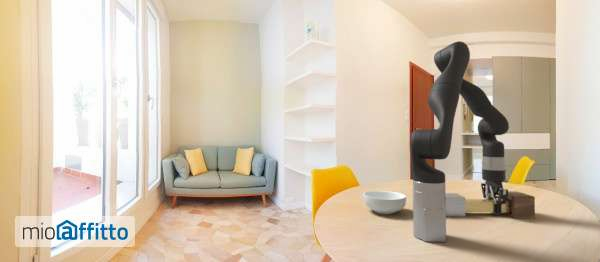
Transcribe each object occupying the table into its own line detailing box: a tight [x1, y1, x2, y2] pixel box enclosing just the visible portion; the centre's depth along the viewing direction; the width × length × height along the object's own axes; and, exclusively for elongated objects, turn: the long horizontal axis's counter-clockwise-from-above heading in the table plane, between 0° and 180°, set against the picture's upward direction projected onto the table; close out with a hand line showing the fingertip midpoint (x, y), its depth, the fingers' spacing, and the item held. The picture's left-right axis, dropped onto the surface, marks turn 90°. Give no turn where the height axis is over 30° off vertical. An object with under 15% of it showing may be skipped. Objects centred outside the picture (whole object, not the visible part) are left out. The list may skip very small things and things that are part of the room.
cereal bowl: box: [363, 190, 407, 215], centre depth 114 cm, size 17×17×7 cm
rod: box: [465, 198, 512, 214], centre depth 109 cm, size 4×24×4 cm, turn 85°
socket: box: [502, 190, 536, 219], centre depth 108 cm, size 9×7×8 cm
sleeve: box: [445, 192, 467, 218], centre depth 110 cm, size 7×15×7 cm, turn 85°
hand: (494, 212), depth 109 cm, fingers closed on rod, 4 cm apart
